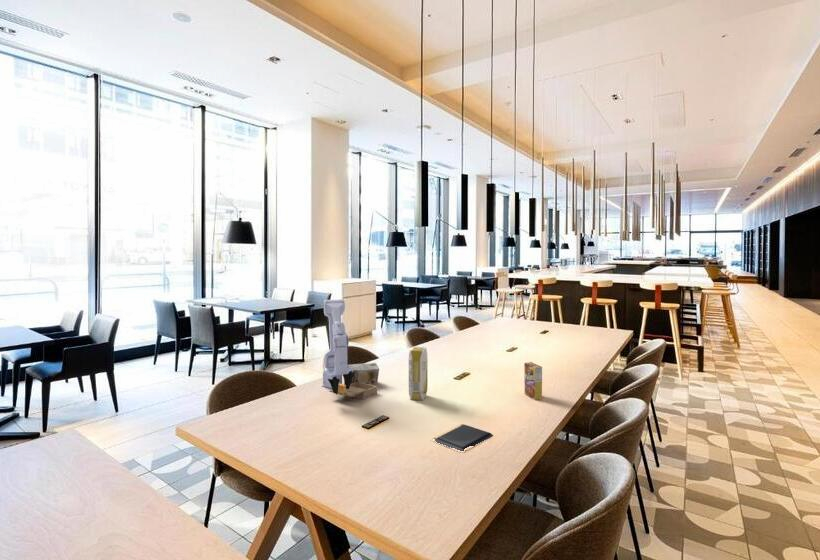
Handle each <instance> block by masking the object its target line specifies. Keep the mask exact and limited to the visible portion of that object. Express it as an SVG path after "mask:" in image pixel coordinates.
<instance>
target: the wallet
mask: <svg viewBox="0 0 820 560" xmlns="http://www.w3.org/2000/svg"><path fill="white" fill-rule="evenodd" d="M493 436H494V434H492V433H491V432H490V431H486V430H482V429H479V428H476V427H474V426H470V425H468V424H463V423H462V424H459V425H457V426H455V427H454V428H451V429H450V430H448V431H446V432H444V433H441V434H439V435H438V436H436V437H433V438H434V439H435V441H436V442H437V443H440V444H443V445H446V446H448V447H451V448H455V449H457V450H460V451H464V449H465V448H467V447H469V446H474V447H476V446H477V445H476V444H478V443H479V444H481V443H483V442H485V441H487V440H489V439H491V438H492V437H493ZM486 439H487V440H486ZM484 440H485V441H484ZM482 441H483V442H482ZM480 442H481V443H480ZM437 443H436V444H437ZM440 444H439V445H440ZM479 444H478V445H479ZM475 445H476V446H475Z"/></svg>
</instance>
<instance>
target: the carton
mask: <svg viewBox="0 0 820 560" xmlns="http://www.w3.org/2000/svg"><path fill="white" fill-rule="evenodd" d="M350 386H353V387H357V388H361V389H366V391H364V392H362V393H359V394H357V395H355V396H352V397H354V398H357V399H361V400H365V399H367V398H369V397H372V396H374V395H377V394H378V386H377V385H374V384H365V383H360V382H354V383H351V384H350Z"/></svg>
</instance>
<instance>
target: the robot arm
mask: <svg viewBox="0 0 820 560" xmlns="http://www.w3.org/2000/svg"><path fill="white" fill-rule="evenodd" d="M345 307H346V304H345V300H344V299H343V298H341V299H324V300H323V314H324V316H325V317H327V318H328V325H329V327H328V328H329V329H328V330H329V349H328V350H327V351H326V352H325V353H324V358H323V360H324V361H323V362H324V363H323V364H324V369H323V371H322V385H321V387H324V388H329V389H331V390H333V392H332V393H333V394H334V395H335V394H336V395H337V394H338V385H339V384H342V385H346V389H349V388H350V383H351V380H352V378H353V376H354V373H352V372H353V368H352V367H349V368H347V365H348V347H349V336H348V333H347V331H346V326H345V324H344V322H342V316H343V314H344V312H345ZM338 395H339V394H338Z"/></svg>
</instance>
